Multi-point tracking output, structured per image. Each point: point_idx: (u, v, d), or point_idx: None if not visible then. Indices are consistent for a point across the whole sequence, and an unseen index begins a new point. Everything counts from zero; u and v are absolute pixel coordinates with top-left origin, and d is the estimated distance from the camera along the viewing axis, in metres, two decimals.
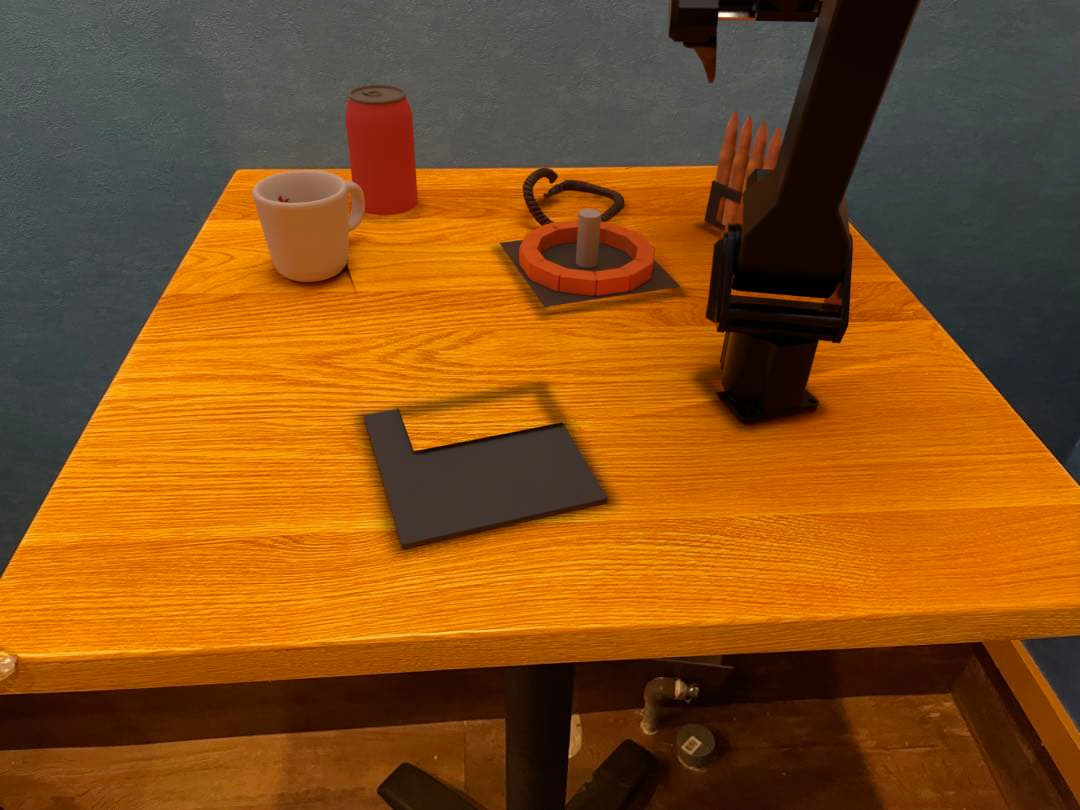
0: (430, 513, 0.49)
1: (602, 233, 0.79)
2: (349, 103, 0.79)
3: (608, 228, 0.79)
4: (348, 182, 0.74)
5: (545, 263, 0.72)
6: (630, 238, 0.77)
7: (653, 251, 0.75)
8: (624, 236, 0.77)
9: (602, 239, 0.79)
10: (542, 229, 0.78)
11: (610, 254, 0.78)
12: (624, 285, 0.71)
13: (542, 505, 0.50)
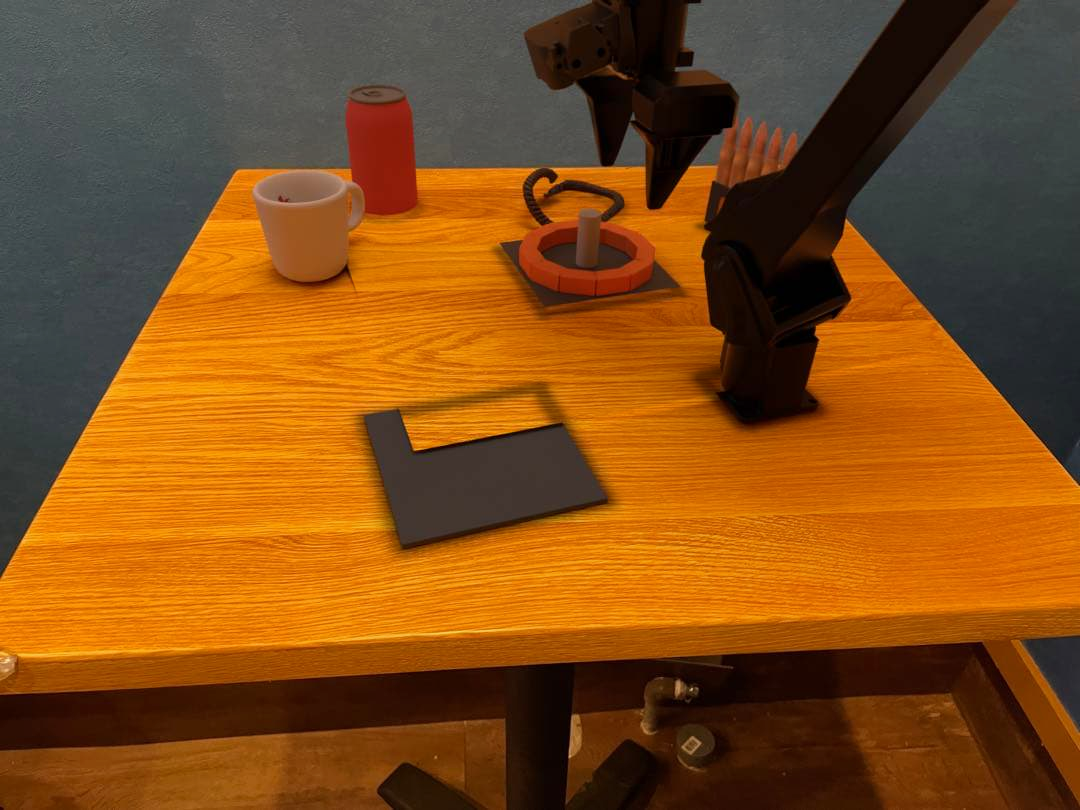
0: (430, 513, 0.49)
1: (602, 233, 0.79)
2: (349, 103, 0.79)
3: (608, 228, 0.79)
4: (348, 182, 0.74)
5: (545, 263, 0.72)
6: (630, 238, 0.77)
7: (653, 251, 0.75)
8: (624, 236, 0.77)
9: (602, 239, 0.79)
10: (542, 229, 0.78)
11: (610, 254, 0.78)
12: (624, 285, 0.71)
13: (542, 505, 0.50)
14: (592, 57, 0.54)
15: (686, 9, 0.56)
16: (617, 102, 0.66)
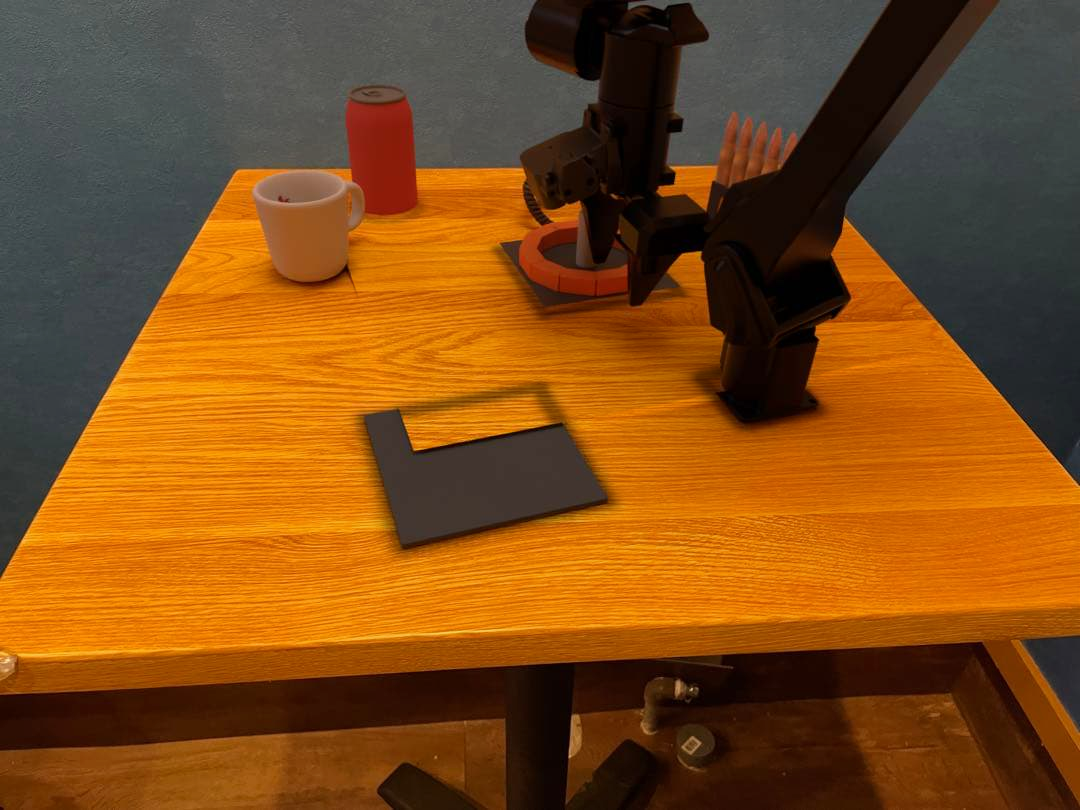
0: (430, 513, 0.49)
1: None
2: (349, 103, 0.79)
3: None
4: (348, 182, 0.74)
5: (545, 263, 0.72)
6: None
7: None
8: None
9: None
10: (542, 229, 0.78)
11: (610, 254, 0.78)
12: (624, 285, 0.71)
13: (542, 505, 0.50)
14: (582, 186, 0.59)
15: (668, 136, 0.61)
16: (609, 207, 0.70)
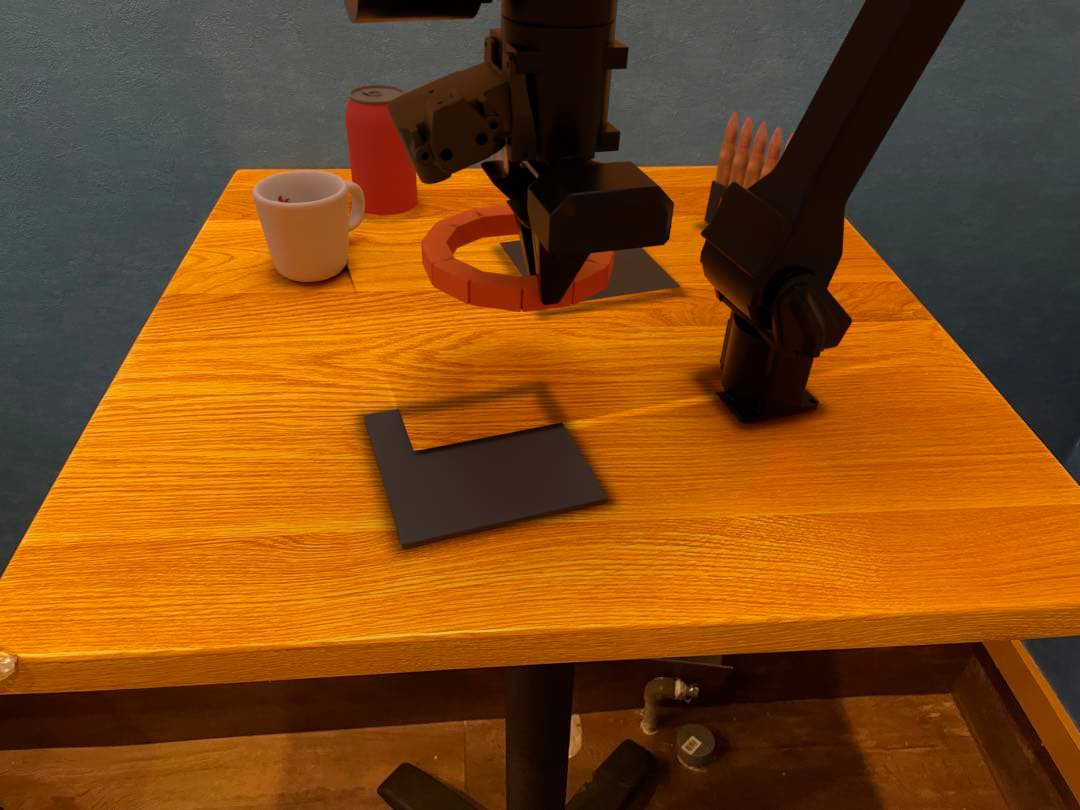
0: (430, 513, 0.49)
1: None
2: (349, 103, 0.79)
3: None
4: (348, 182, 0.74)
5: (453, 263, 0.50)
6: None
7: None
8: None
9: None
10: (460, 217, 0.56)
11: None
12: (564, 297, 0.49)
13: (542, 505, 0.50)
14: (469, 145, 0.38)
15: (607, 76, 0.41)
16: None
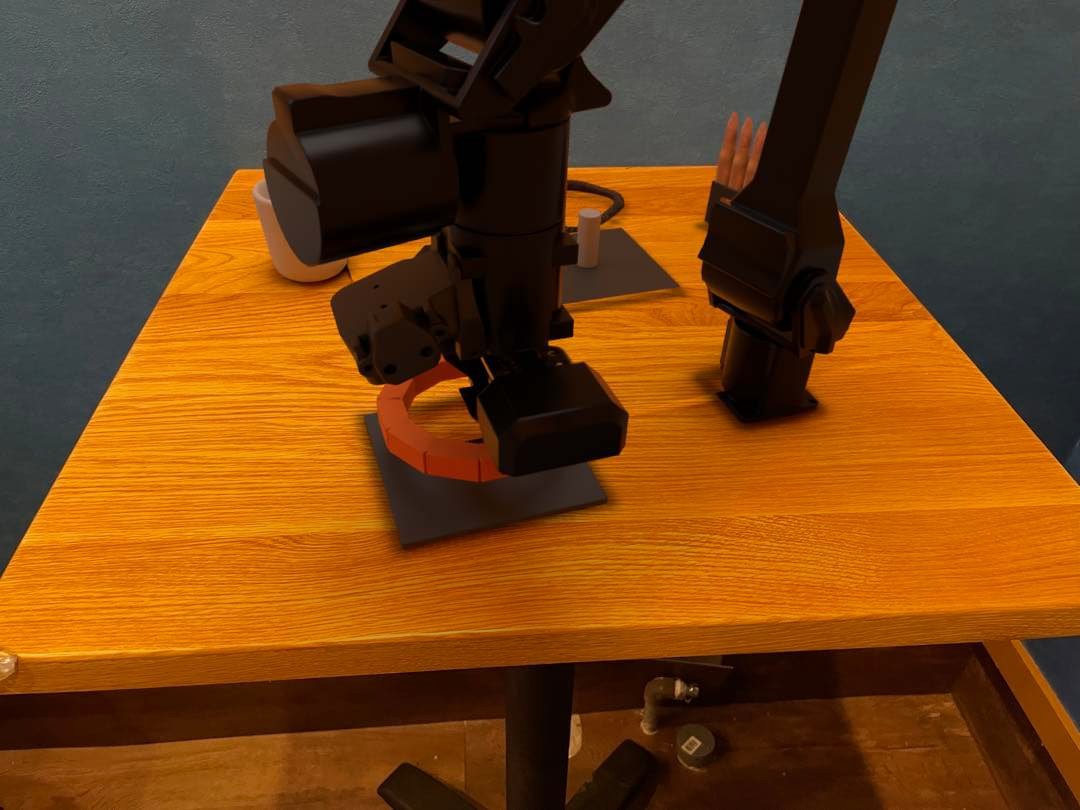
0: (430, 513, 0.49)
1: None
2: None
3: None
4: None
5: (408, 428, 0.48)
6: None
7: None
8: None
9: None
10: None
11: (610, 254, 0.78)
12: None
13: (542, 505, 0.50)
14: (413, 359, 0.37)
15: (558, 270, 0.39)
16: None
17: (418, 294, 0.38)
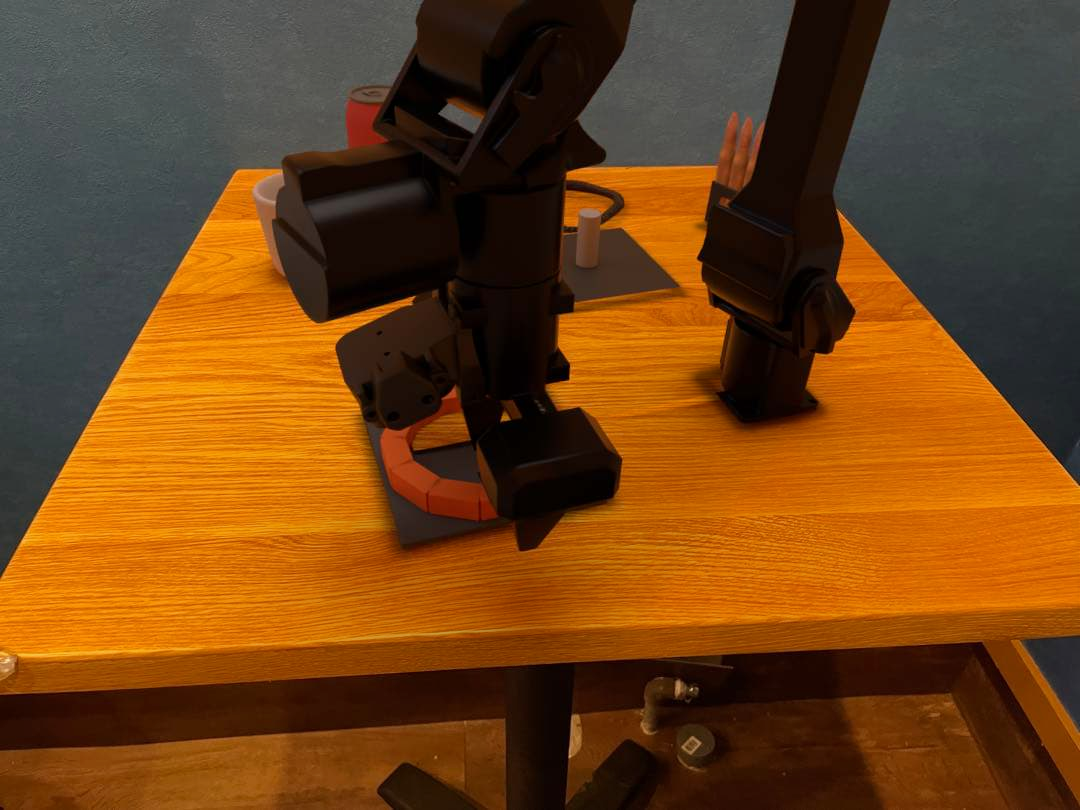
0: (430, 513, 0.49)
1: None
2: (349, 103, 0.79)
3: None
4: None
5: (411, 468, 0.50)
6: None
7: None
8: None
9: None
10: None
11: (610, 254, 0.78)
12: None
13: None
14: (415, 406, 0.38)
15: (554, 318, 0.41)
16: None
17: (420, 342, 0.40)
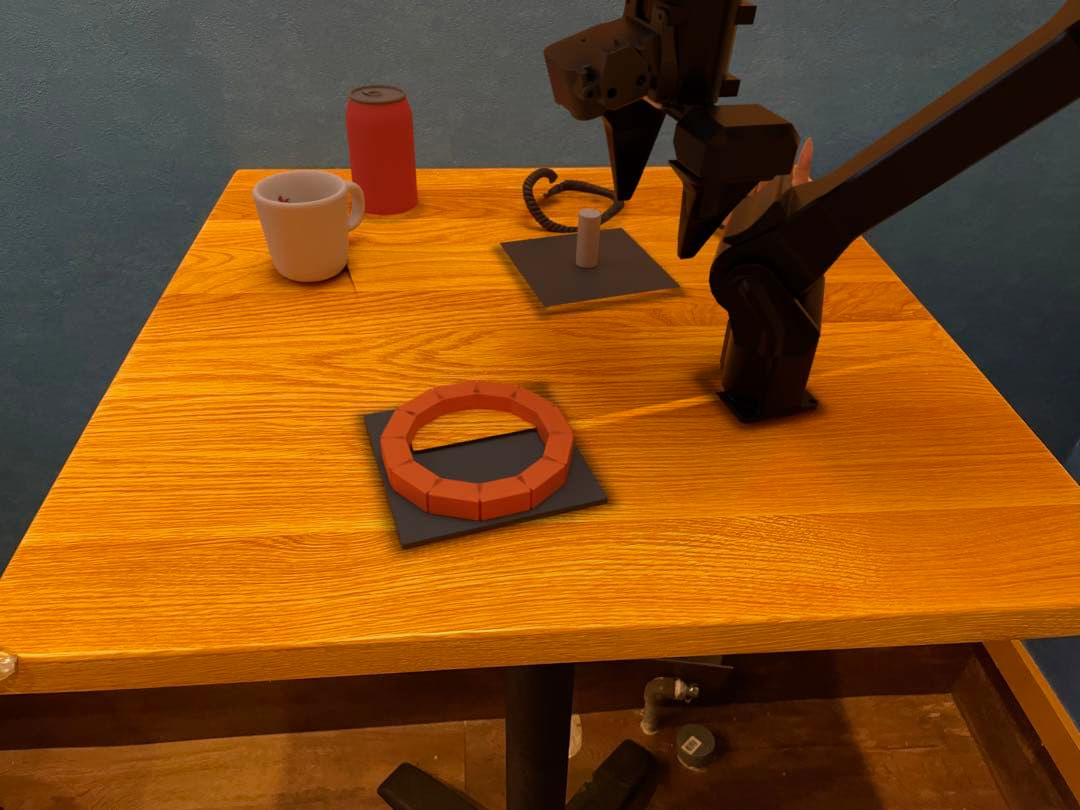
0: (430, 513, 0.49)
1: (505, 403, 0.57)
2: (349, 103, 0.79)
3: (513, 395, 0.57)
4: (348, 182, 0.74)
5: (411, 468, 0.50)
6: (541, 415, 0.55)
7: (570, 441, 0.53)
8: (534, 411, 0.56)
9: (506, 410, 0.57)
10: (420, 401, 0.56)
11: (610, 254, 0.78)
12: (523, 503, 0.49)
13: (542, 505, 0.50)
14: (630, 86, 0.45)
15: (735, 31, 0.48)
16: (639, 129, 0.57)
17: (627, 40, 0.46)
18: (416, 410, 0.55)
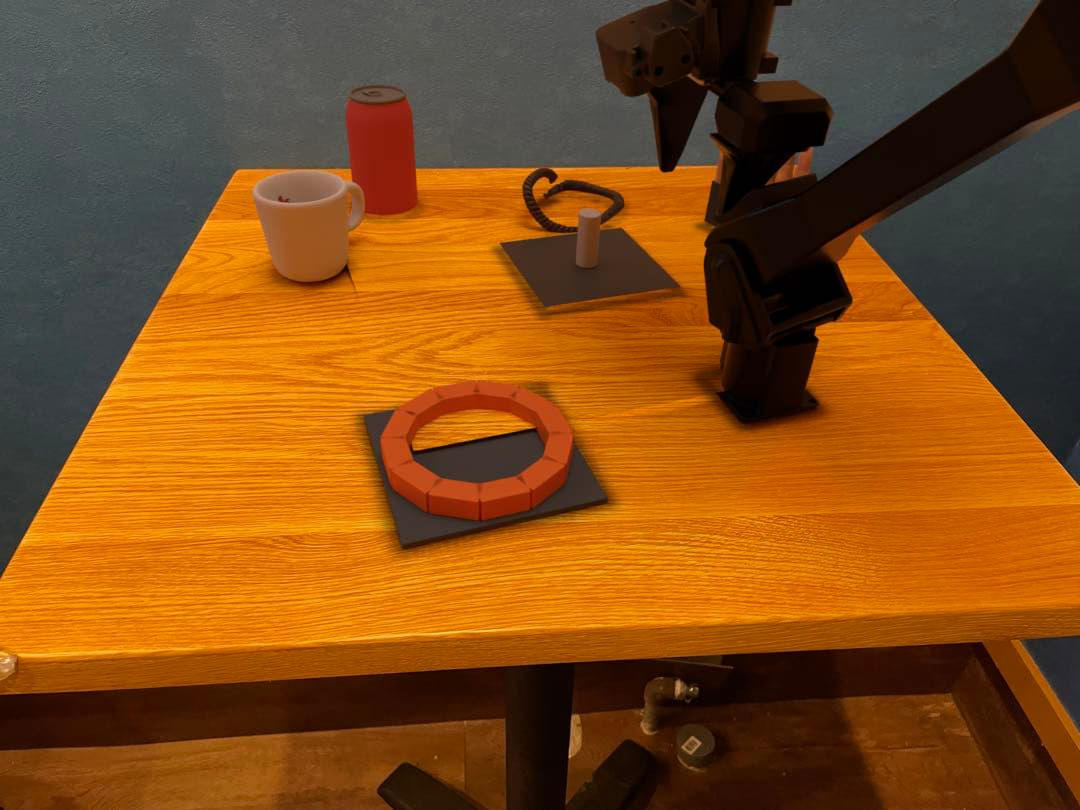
0: (430, 513, 0.49)
1: (505, 403, 0.57)
2: (349, 103, 0.79)
3: (513, 395, 0.57)
4: (348, 182, 0.74)
5: (411, 468, 0.50)
6: (541, 415, 0.55)
7: (570, 441, 0.53)
8: (534, 411, 0.56)
9: (506, 410, 0.57)
10: (420, 401, 0.56)
11: (610, 254, 0.78)
12: (523, 503, 0.49)
13: (542, 505, 0.50)
14: (676, 64, 0.49)
15: (774, 11, 0.51)
16: (682, 104, 0.61)
17: (673, 22, 0.50)
18: (416, 410, 0.55)
